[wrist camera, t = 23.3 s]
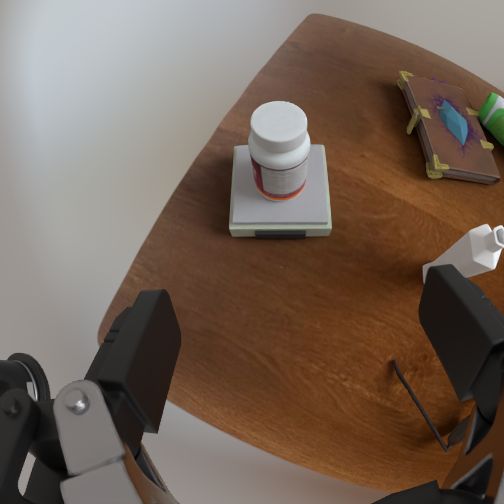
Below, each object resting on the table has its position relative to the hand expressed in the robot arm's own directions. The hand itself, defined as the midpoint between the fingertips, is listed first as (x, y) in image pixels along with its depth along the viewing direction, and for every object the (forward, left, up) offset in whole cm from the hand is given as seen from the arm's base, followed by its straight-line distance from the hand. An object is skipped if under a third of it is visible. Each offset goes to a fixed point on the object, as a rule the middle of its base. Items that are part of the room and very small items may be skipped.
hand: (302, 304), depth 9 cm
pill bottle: (-1, +18, -23) cm, 29 cm away
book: (+27, +33, -27) cm, 50 cm away
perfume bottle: (+19, +7, -27) cm, 34 cm away
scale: (-1, +18, -27) cm, 32 cm away
